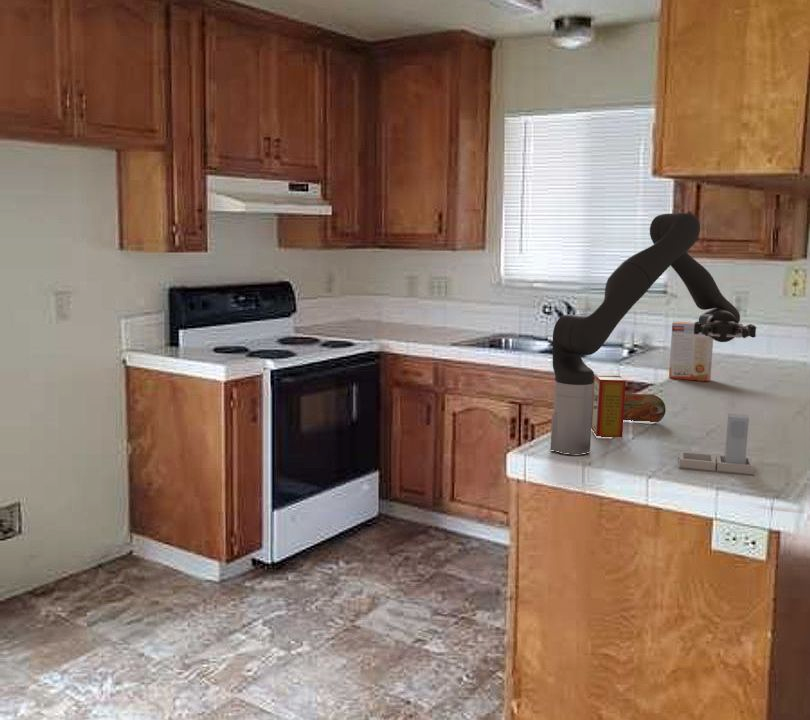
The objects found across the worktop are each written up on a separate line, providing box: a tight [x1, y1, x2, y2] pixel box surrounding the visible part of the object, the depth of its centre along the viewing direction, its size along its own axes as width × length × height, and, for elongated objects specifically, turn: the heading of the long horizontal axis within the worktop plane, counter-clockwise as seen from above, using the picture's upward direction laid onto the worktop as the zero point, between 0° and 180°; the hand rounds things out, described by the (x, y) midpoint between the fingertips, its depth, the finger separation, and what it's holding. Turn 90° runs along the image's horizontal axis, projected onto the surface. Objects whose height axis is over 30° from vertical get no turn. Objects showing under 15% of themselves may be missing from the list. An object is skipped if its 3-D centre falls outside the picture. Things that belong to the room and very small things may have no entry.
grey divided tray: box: [677, 451, 756, 477], centre depth 197 cm, size 16×11×3 cm
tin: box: [623, 392, 667, 423], centre depth 246 cm, size 15×3×8 cm, turn 81°
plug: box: [724, 413, 750, 464], centre depth 195 cm, size 4×5×12 cm
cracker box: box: [668, 321, 714, 382], centre depth 320 cm, size 14×6×21 cm, turn 59°
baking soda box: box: [591, 373, 627, 438], centre depth 229 cm, size 10×6×16 cm
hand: (725, 332), depth 208 cm, fingers open, 8 cm apart
